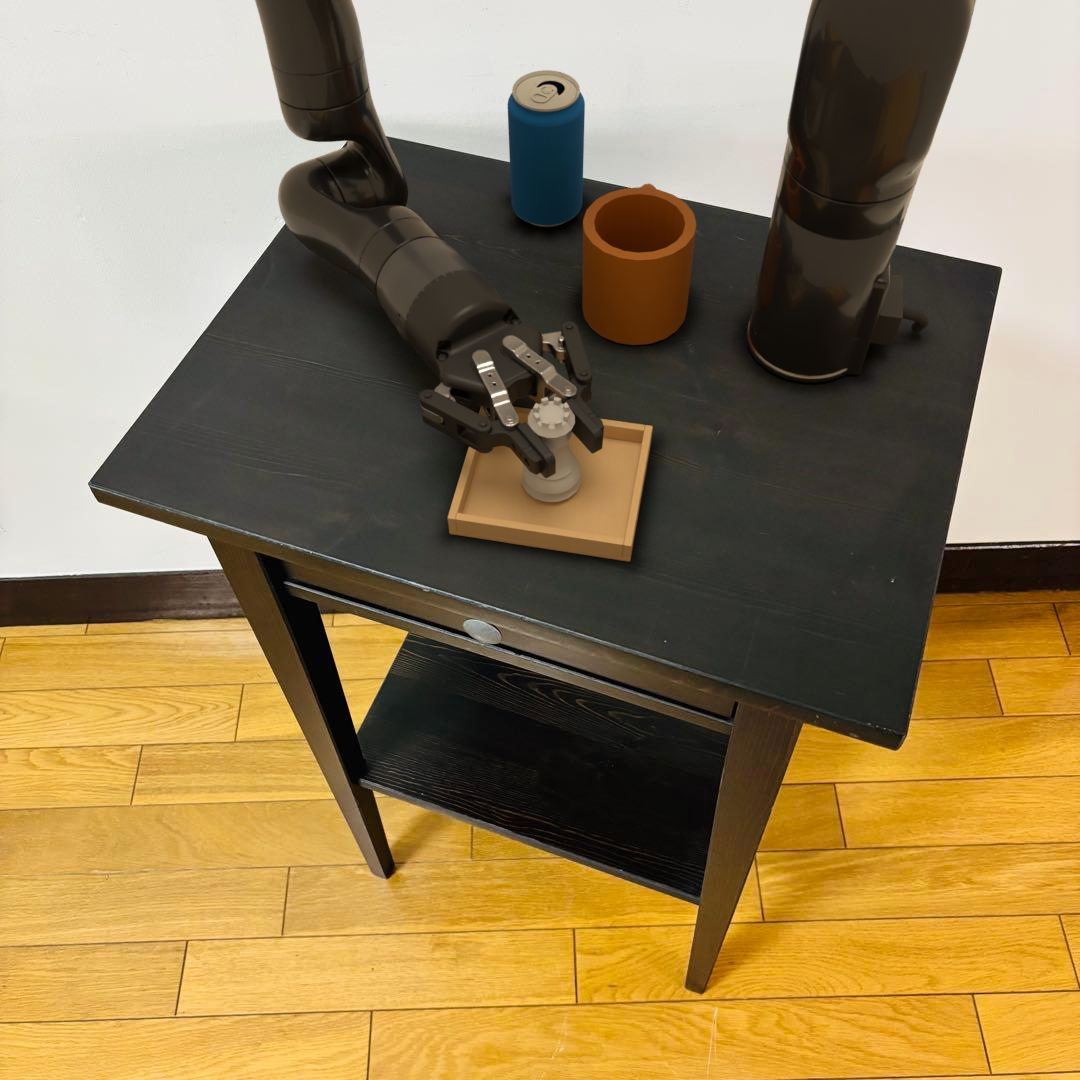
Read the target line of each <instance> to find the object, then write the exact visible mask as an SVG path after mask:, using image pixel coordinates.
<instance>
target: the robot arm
mask: <svg viewBox="0 0 1080 1080" xmlns="http://www.w3.org/2000/svg"><path fill="white" fill-rule="evenodd" d="M976 2H977V0H811V3H810V6H809V10H808V13H807V18H806V22H805V27H804V32H803V37H802V41H801V46H800V52H799V58H798V61H797V66H796V67H797V68H796V73H795V79H794V83H793V89H792V94H791V101H790V105H789V106H790V107H789V111H788V117H787V121H786V122H787V125H786V132H787V139H786V143H785V149H784V153H783V159H782V162H781V163H782V164H781V167H780V174H779V179H778V183H777V188H776V193H775V198H774V202H773V208H772V213H771V218H770V223H769V227H768V231H767V237H766V242H765V247H764V252H763V257H762V262H761V266H760V270H759V271H757V273H756V276H755V281H754V287H756V291H755V296H754V301H753V306H752V310H751V312H750V317H749V321H748V324H747V329H746V336H745V337H746V344H747V348H748V350H749V352H750V354H751V355H752V357H753V358H754V360H755V361H756V362H757V363H758V364H759V365H760V366H762V367H763V368H764V369H765V370H767V371H769V373H772V374H774V375H775V376H778V377H780V378H783V379H786V380H789V381H793V382H798V383H804V384H805V383H806V384H808V383H809V384H815V383H825V382H830V381H833V380H836V379H839V378H842V377H843V376H845V375H850V376H851V375H852V376H859V375H860V374H861V371H862V369H863V365H864V363H865V360H866V357H867V353H868V351H869V348H870V345H871V344H875V345H876V344H877V345H884V346H891V347H892V346H894V344H895V340H896V338H897V335H898V333H899V330H900V327H901V323H902V321H903V319H905V320H909V321H911V322H912V321H913V323H912V324H911V328H910V329H911V331H912V332H913V333H915V334H918V333H919V334H920V333H921V332H922V331H923V330H924V329H926V328H927V326H928V325H929V323H930V319H929V316H928V315H927V314H926V313H925V312H923V311H921V310H918V309H915V308H911V307H907V306H904V276H903V275H899V274H898V275H897V274H891V263H892V262H891V261H892V258H893V256H894V252H895V250H896V246H897V243H898V240H899V237H900V234H901V231H902V228H903V225H904V221H905V219H906V215H907V213H908V209H909V206H910V203H911V200H912V197H913V194H914V191H915V188H916V185H917V182H918V179H919V177H920V175H921V171H922V168H923V165H924V162H925V160H926V158H927V156H928V154H929V152H930V150H931V147H932V144H933V141H934V138H935V134H936V132H937V129H938V126H939V123H940V120H941V118H942V115H943V112H944V108H945V106H946V103H947V100H948V97H949V95H950V92H951V89H952V86H953V83H954V80H955V77H956V74H957V70H958V68H959V65H960V62H961V58H962V56H963V53H964V49H965V46H966V42H967V40H968V36H969V32H970V28H971V24H972V19H973V15H974V12H975V6H976V4H977V3H976ZM254 3H255V6H256V9H257V13H258V16H259V20H260V24H261V28H262V32H263V37H264V40H265V45H266V50H267V54H268V58H269V62H270V63H269V64H270V66H271V67H270V68H271V72H272V76H273V80H274V84H275V89H276V93H277V97H278V102H279V106H280V110H281V114H282V117H283V121H284V122H285V125H286V126H287V128H288V130H289V131H290V132H291V133H293V134H294V136H296V137H298V138H300V139H302V140H305V141H309V142H316V143H334V142H335V143H336V142H347V143H346V144H347V145H346V146H344V147H343V148H342V147H341V148H339V149H336V150H333V151H330V152H329V153H326V154H323V155H320V156H317V157H314V158H312V159H308V160H305V161H303V162H300V163H298V164H296V165H294V166H292V167H290V169H288V170H287V171H286V172H285V174H284V175H283V176H282V178H281V179H280V183H279V186H278V191H277V201H278V206H279V211H280V213H281V216H282V219H283V221H284V222H285V225H286V226H287V228H288V229H289V231H290V232H291V233H292V235H293V236H294V237H295V238H296V239H297V240H298V241H299V242H300V243H301V244H302V245H303V246H304V247H305V248H307V250H309V251H310V252H312V253H313V254H315V255H316V256H318V258H319V257H320V258H321V259H323V260H324V261H326V262H327V263H330V264H332V265H333V266H335V267H337V268H339V269H340V270H342V271H344V272H346V273H347V274H349V275H350V276H352V277H354V278H356V279H358V280H360V282H361V283H362V284H363V286H364V287H365V288H366V289H367V290H368V291H369V292H370V293H371V295H372V296H373V297H374V298H375V300H376V301H377V302H378V303H379V304H380V305H381V307H382V308H383V310H384V311H385V314H386V315H387V317H388V318H389V320H390V322H391V323H392V324H393V326H394V327H395V329H396V330H397V332H398V334H399V335H400V336H401V338H402V339H404V340H405V341H406V342H407V343H408V345H410V346H411V347H412V349H413V350H414V351H415V352H416V353H417V354H418V355H419V357H420V358H421V359H422V360H423V362H424V363H425V364H426V365H427V366H428V368H429V369H430V370H431V371H432V373H433V374H434V375H435V376H436V377H437V378H438V379H439V382H440V383H439V384H438V385H437V386H436V387H435V388H434V389H430V388H429V389H423V390H422V391H421V392H420V393H419V396H418V397H419V403H420V410H421V417H422V422H423V423H424V424H425V425H427V426H429V427H431V428H433V429H435V430H437V431H439V432H441V433H442V434H445V435H446V436H448V437H450V438H452V439H454V440H455V441H458V442H459V443H461V444H463V445H465V446H467V447H468V448H469V447H471V448H473V449H475V450H476V451H478V452H480V453H489V452H491V451H492V450H493V447H498V446H505V447H507V448H510V449H511V450H512V451H513V452H514V453H515V455H516V456H517V457H518V458H519V459H520V460H521V462H522V463H523V464H524V465H525V466H526V468H527V469H528V470H529V471H530V472H532V473H534V474H535V475H537V474H539V473H541V474H542V475H543V477H544V478H548V477H550V476H552V475H554V474H555V473H556V459H555V456H554V454H553V453H552V452H551V450H550V449H549V448H548V447H547V446H546V445H545V444H544V442H543V441H542V440H541V439H540V438H539V437H538V436H537V434H536V433H535V432H534V431H533V430H532V429H531V428H530V426H529V425H528V424H527V423H526V422H524V423H522V424H521V423H520V422H519V417H518V415H517V413H516V411H515V409H514V407H515V406H513V405H514V403H515V402H516V401H518V400H520V399H525V398H529V399H530V400H532V401H533V402H535V404H536V403H537V404H541V399H542V398H545V397H548V401H554V397H558V398H561V403H562V404H564V403H566V402H567V404H568V406H569V408H570V409H571V410H572V412H573V414H574V415H575V424H574V426H573V428H572V430H571V431H572V432H573V433H574V434H575V436H576V437H577V438H578V439H579V440H580V441H581V442H582V443H583V444H584V446H585V447H586V448H587V449H588V450H589V451H590V452H591V453H595V452H597V451H599V450H601V449H602V445H603V433H604V425H603V422H602V420H601V419H602V418H600V416H599V415H597V413H595V411H594V410H593V409H592V408H591V407H590V406H589V405H588V404H587V403H588V402H590V401H591V399H592V381H593V371H592V367H591V364H590V361H589V358H588V354H587V352H586V349H585V346H584V341H583V339H582V336H581V333H580V330H579V327H578V325H577V323H575V322H574V321H565V322H563V323H562V324H561V326H560V330H559V331H553V332H547V333H541V332H540V331H539V330H538V329H537V328H535V327H532V326H529V325H527V324H525V323H524V322H523V321H522V320H521V318H520V317H519V315H518V313H516V311H515V309H513V307H512V306H511V305H510V304H509V303H508V302H507V301H506V300H505V299H504V298H503V296H501V294H499V292H498V291H497V290H496V289H495V288H494V287H493V286H492V285H491V284H490V283H489V282H488V281H487V279H486V278H485V277H483V275H482V274H481V273H480V272H479V271H478V270H477V269H476V268H475V267H474V266H473V265H472V264H471V262H469V261H468V260H467V259H466V258H465V256H463V255H462V254H460V253H459V252H458V251H457V250H455V249H454V248H453V247H451V246H450V245H449V244H448V243H447V242H446V241H445V240H444V239H443V237H441V236H440V235H439V234H438V232H437V231H435V229H434V228H433V227H432V226H431V225H430V224H429V223H428V222H427V220H426V219H425V218H423V216H421V215H420V214H419V213H418V212H416V211H415V210H413V209H412V208H410V207H407V204H408V199H409V186H408V182H407V179H406V176H405V174H404V170H403V169H402V166H401V165H400V162H399V160H398V159H397V157H396V155H395V153H394V150H393V149H392V147H391V144H390V142H389V140H388V138H387V135H386V133H385V131H384V128H383V125H382V123H381V120H380V118H379V115H378V112H377V110H376V107H375V104H374V101H373V98H372V97H373V96H372V93H371V86H370V79H369V73H368V68H367V61H366V56H365V50H364V44H363V43H364V42H363V37H362V31H361V28H360V22H359V19H358V14H357V12H356V8H355V5H354V2H353V0H254ZM544 352H546V353H550V354H552V356H553V357H554V359H556V360H557V363H559V364H564V367H565V370H566V373H567V376H568V379H566V378H565V377H563V376H562V375H561V374H560V373H558V371H557V369H556V367H555V366H554V364H552V363H551V362H550V361H548V360H547V359H546V358H544ZM456 400H457V401H461V402H465V403H467V404H471V405H476V406H479V407H481V406H482V407H483V409H484V411H485V413H486V415H487V417H488V418H486V417H484V416H482V415H480V414H479V412H476V411H474V410H472V409H470V408H468V407H467V406H464V405H462V404H461V403H459V402H457V401H456Z"/></svg>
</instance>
